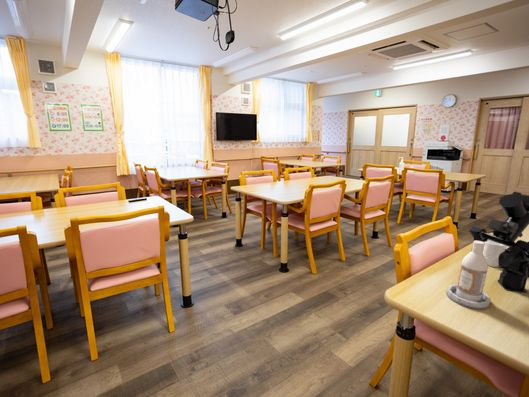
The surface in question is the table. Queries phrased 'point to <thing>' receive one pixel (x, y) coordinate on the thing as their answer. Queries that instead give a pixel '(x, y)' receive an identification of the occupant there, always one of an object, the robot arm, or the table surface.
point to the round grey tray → (470, 304)
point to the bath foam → (473, 274)
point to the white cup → (493, 252)
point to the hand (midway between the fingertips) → (485, 260)
